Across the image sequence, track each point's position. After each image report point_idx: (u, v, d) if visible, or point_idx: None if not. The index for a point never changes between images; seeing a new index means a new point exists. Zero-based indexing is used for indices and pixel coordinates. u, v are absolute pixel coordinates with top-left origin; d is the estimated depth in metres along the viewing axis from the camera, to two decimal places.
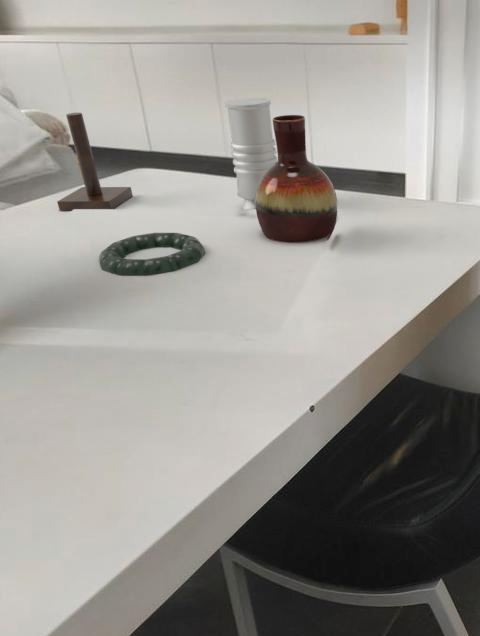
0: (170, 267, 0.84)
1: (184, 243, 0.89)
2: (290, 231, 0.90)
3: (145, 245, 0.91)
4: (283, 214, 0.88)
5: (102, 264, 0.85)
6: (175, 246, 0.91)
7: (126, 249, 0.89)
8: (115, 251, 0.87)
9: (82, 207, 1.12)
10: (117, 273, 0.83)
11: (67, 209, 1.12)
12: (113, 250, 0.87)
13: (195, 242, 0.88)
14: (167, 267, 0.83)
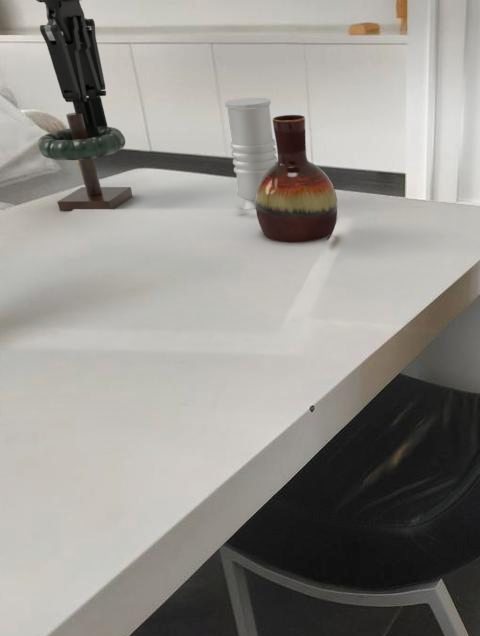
0: (92, 146, 1.05)
1: (107, 132, 1.11)
2: (290, 231, 0.90)
3: None
4: (283, 214, 0.88)
5: (39, 145, 1.07)
6: (101, 136, 1.12)
7: (61, 138, 1.11)
8: (51, 137, 1.09)
9: (82, 207, 1.12)
10: (50, 151, 1.05)
11: (67, 209, 1.12)
12: (49, 136, 1.09)
13: (116, 130, 1.10)
14: (90, 146, 1.05)
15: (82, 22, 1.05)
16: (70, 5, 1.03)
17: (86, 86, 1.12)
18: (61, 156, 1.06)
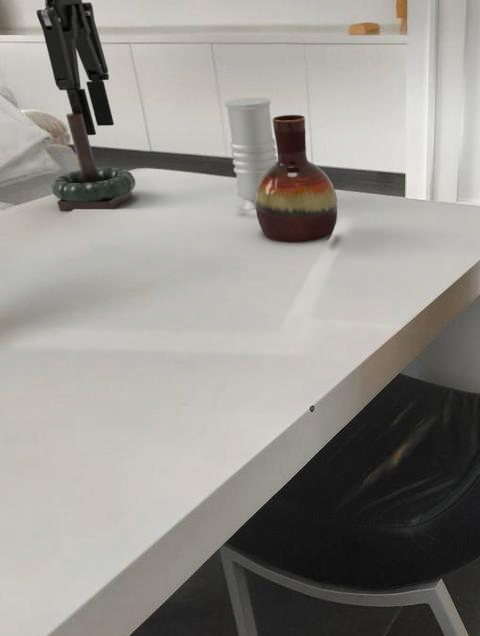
0: (104, 189, 1.10)
1: (118, 174, 1.15)
2: (290, 231, 0.90)
3: None
4: (283, 214, 0.88)
5: (53, 187, 1.11)
6: (112, 177, 1.17)
7: (74, 179, 1.15)
8: (64, 179, 1.13)
9: (82, 207, 1.12)
10: (64, 193, 1.09)
11: (67, 209, 1.12)
12: (62, 178, 1.13)
13: (126, 173, 1.14)
14: (102, 189, 1.09)
15: (81, 11, 1.05)
16: None
17: (89, 71, 1.13)
18: (74, 198, 1.10)
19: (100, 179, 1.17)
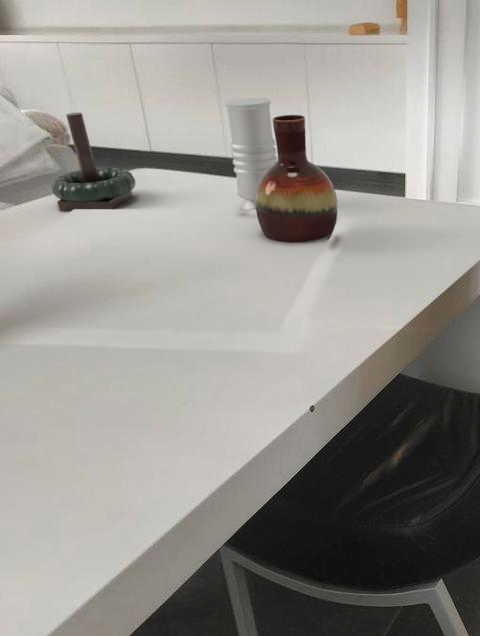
0: (104, 189, 1.10)
1: (118, 174, 1.15)
2: (290, 231, 0.90)
3: None
4: (283, 214, 0.88)
5: (53, 187, 1.11)
6: (112, 177, 1.17)
7: (74, 179, 1.15)
8: (64, 179, 1.13)
9: (82, 207, 1.12)
10: (64, 193, 1.09)
11: (67, 209, 1.12)
12: (62, 178, 1.13)
13: (126, 173, 1.14)
14: (102, 189, 1.09)
15: None
16: None
17: None
18: (74, 198, 1.10)
19: (100, 179, 1.17)
